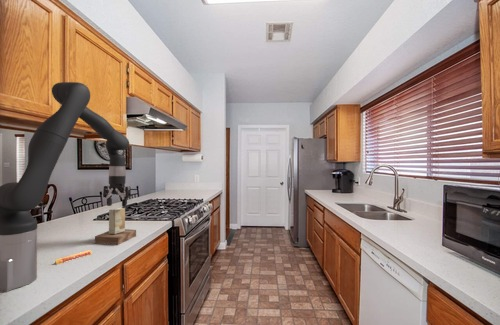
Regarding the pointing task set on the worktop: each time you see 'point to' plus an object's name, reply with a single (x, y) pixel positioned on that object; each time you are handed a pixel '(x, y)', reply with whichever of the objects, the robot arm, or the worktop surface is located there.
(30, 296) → the worktop surface
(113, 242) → the walnut block
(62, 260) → the chocolate bar
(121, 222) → the skincare box
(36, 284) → the worktop surface
